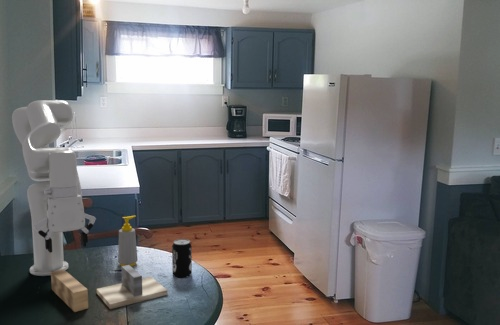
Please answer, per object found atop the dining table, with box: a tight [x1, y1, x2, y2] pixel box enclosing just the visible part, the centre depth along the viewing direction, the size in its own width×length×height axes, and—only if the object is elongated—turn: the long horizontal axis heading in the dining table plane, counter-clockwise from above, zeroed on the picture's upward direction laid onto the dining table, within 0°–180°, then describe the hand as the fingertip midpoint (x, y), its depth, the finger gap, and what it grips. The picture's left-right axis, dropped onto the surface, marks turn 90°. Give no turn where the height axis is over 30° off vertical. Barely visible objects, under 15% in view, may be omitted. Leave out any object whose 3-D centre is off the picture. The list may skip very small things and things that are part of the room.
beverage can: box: [171, 238, 193, 279], centre depth 159 cm, size 7×7×12 cm
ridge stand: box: [96, 265, 168, 310], centre depth 143 cm, size 13×18×8 cm
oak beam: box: [50, 269, 89, 313], centre depth 140 cm, size 20×4×6 cm, turn 40°
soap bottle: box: [117, 215, 138, 267], centre depth 168 cm, size 7×7×18 cm
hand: (67, 248), depth 138 cm, fingers open, 9 cm apart
